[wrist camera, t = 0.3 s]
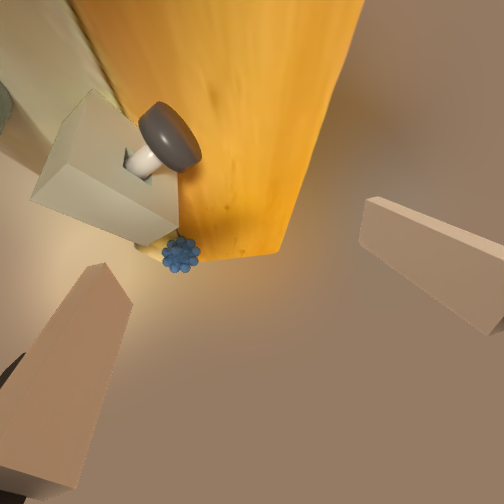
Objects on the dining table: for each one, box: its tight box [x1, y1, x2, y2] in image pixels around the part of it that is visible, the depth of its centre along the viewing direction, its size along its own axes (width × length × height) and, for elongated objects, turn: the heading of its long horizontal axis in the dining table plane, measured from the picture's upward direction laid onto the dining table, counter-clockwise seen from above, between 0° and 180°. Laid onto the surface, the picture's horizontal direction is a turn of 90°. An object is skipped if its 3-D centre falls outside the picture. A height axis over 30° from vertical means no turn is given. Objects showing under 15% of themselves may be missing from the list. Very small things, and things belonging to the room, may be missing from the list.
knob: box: [123, 101, 202, 180], centre depth 30 cm, size 8×11×8 cm
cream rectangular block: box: [30, 88, 179, 247], centre depth 33 cm, size 15×8×16 cm, turn 29°
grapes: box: [162, 237, 200, 273], centre depth 59 cm, size 12×7×12 cm, turn 102°
